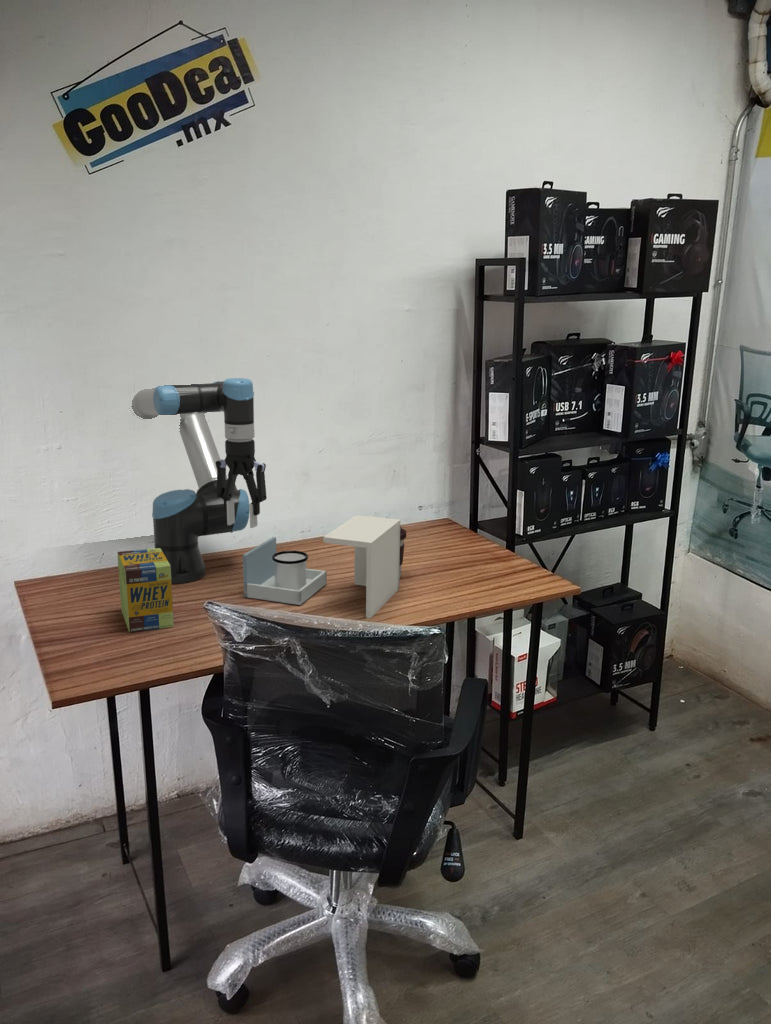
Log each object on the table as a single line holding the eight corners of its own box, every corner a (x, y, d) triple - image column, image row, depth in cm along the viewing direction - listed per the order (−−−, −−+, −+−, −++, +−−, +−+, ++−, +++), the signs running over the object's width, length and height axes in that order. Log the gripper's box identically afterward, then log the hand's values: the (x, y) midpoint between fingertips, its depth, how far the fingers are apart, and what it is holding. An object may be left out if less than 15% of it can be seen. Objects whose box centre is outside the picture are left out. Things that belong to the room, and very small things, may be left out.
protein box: (129, 633, 197) (124, 570, 193) (120, 610, 210) (116, 551, 206) (174, 627, 201) (171, 565, 197) (163, 604, 214) (160, 546, 210)
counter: (323, 611, 212) (323, 537, 207) (355, 583, 232) (356, 514, 227) (370, 618, 208) (371, 542, 203) (399, 589, 228) (400, 519, 223)
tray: (243, 596, 220) (242, 554, 217) (273, 576, 235) (272, 537, 232) (300, 605, 215) (299, 562, 212) (326, 583, 230) (326, 543, 227)
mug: (312, 592, 220) (312, 559, 218) (276, 596, 217) (275, 563, 215) (302, 577, 231) (301, 546, 229) (267, 581, 228) (267, 549, 226)
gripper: (199, 438, 218) (203, 525, 224) (266, 444, 212) (268, 532, 218) (214, 434, 225) (218, 518, 231) (279, 439, 219) (281, 525, 225)
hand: (242, 525), depth 225 cm, fingers open, 6 cm apart
